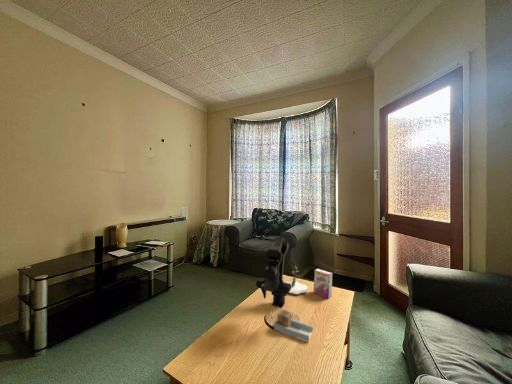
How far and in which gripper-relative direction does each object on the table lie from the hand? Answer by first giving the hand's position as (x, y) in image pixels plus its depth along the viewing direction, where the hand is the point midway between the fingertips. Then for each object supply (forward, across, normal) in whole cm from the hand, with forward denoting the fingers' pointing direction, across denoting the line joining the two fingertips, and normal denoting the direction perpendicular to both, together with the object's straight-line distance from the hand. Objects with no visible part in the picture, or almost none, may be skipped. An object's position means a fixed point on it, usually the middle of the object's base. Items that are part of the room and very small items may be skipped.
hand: (272, 300), depth 117 cm
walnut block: (+12, +7, -1) cm, 14 cm away
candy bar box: (+12, +22, +43) cm, 49 cm away
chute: (+12, +12, -2) cm, 17 cm away
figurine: (+12, +2, +42) cm, 44 cm away
